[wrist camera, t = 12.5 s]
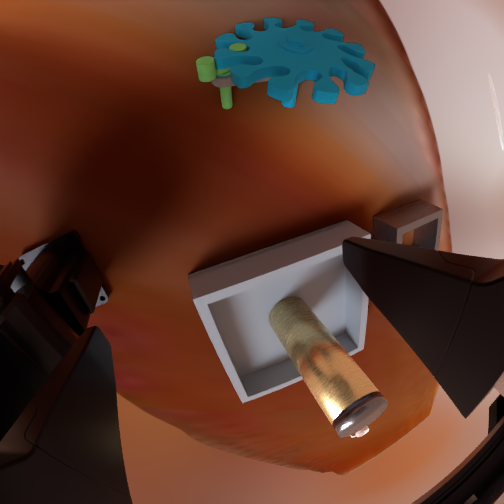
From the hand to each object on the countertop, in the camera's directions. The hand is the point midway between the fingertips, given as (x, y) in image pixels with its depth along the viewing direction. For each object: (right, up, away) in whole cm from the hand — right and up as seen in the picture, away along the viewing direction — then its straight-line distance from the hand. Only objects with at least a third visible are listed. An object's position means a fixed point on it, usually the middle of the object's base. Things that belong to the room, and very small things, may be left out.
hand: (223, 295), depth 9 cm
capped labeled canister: (+4, -5, +17) cm, 18 cm away
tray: (+4, -4, +17) cm, 19 cm away
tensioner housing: (+17, +3, +18) cm, 25 cm away
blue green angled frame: (+2, +15, +8) cm, 17 cm away
